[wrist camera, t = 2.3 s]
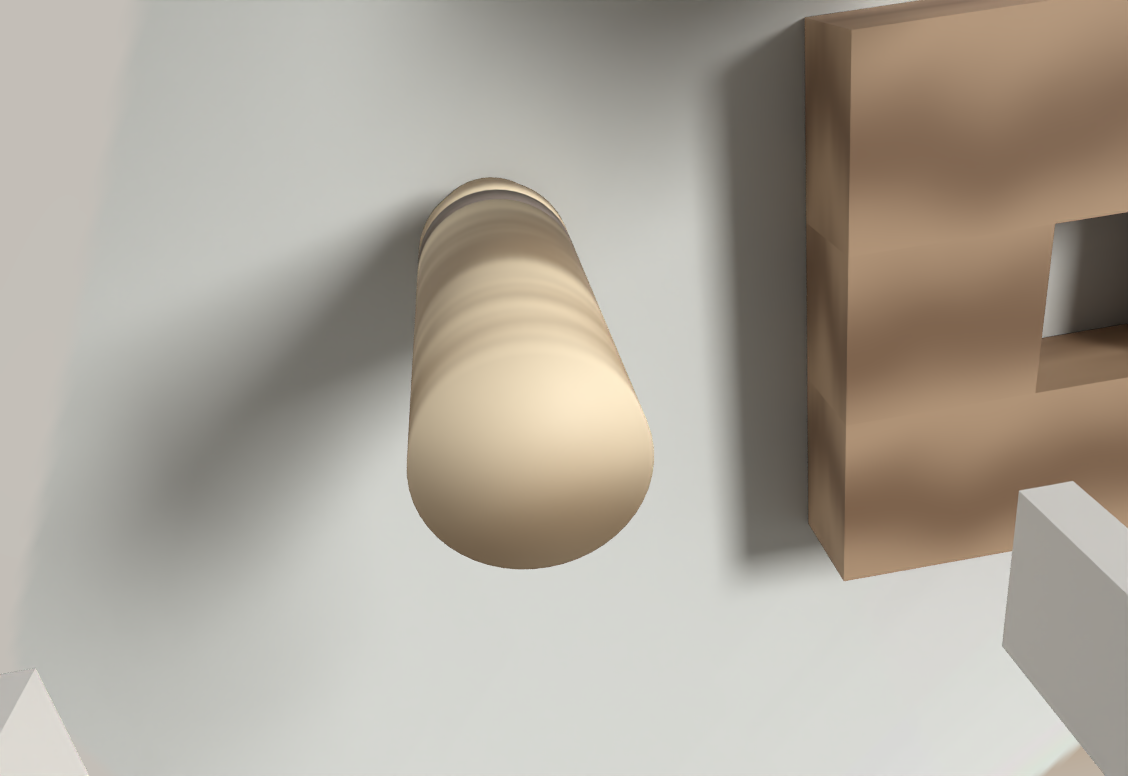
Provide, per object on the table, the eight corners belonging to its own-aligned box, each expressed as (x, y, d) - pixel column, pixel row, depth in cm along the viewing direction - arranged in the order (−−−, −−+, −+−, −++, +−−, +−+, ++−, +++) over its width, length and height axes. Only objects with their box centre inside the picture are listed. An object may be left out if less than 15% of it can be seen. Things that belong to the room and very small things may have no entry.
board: (804, 17, 27) (851, 30, 24) (1386, -69, 28) (1504, -68, 25) (808, 523, 36) (843, 581, 33) (1260, 443, 37) (1337, 492, 33)
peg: (406, 176, 28) (383, 378, 16) (552, 153, 28) (643, 335, 16) (434, 312, 30) (432, 587, 18) (570, 289, 30) (662, 547, 18)
